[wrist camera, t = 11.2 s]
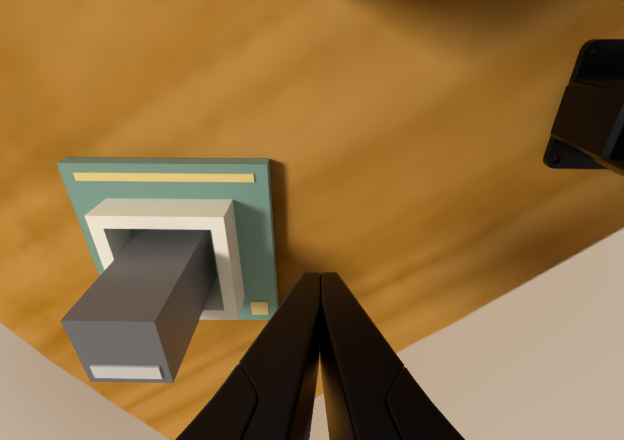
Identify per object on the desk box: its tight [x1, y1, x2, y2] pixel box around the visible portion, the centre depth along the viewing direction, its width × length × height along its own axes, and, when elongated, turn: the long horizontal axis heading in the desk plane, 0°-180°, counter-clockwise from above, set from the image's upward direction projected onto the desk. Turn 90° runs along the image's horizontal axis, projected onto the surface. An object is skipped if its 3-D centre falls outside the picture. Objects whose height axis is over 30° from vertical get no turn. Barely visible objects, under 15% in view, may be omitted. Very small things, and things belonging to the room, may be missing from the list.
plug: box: [61, 229, 217, 383], centre depth 19 cm, size 4×4×8 cm
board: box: [57, 157, 279, 320], centre depth 23 cm, size 12×12×1 cm
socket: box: [85, 198, 245, 320], centre depth 22 cm, size 8×8×2 cm
